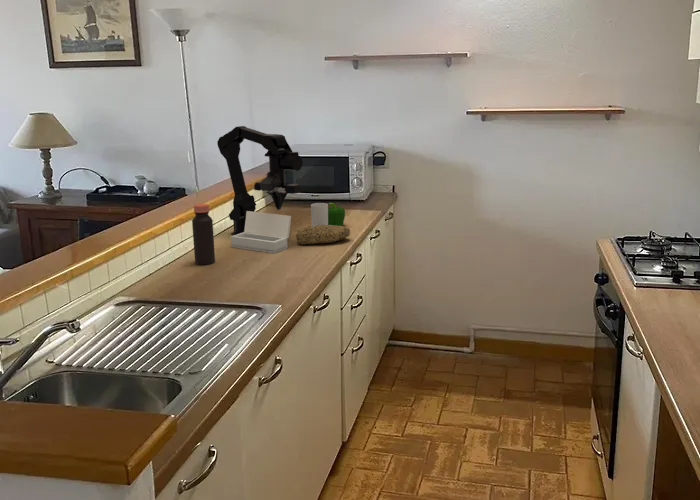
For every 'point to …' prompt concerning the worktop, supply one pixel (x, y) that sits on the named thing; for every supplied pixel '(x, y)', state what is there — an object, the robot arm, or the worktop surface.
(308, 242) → the rock
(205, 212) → the bottle
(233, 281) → the worktop surface
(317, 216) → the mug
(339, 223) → the bell pepper
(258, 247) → the cable tray
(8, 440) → the worktop surface
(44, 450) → the worktop surface
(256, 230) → the lid
